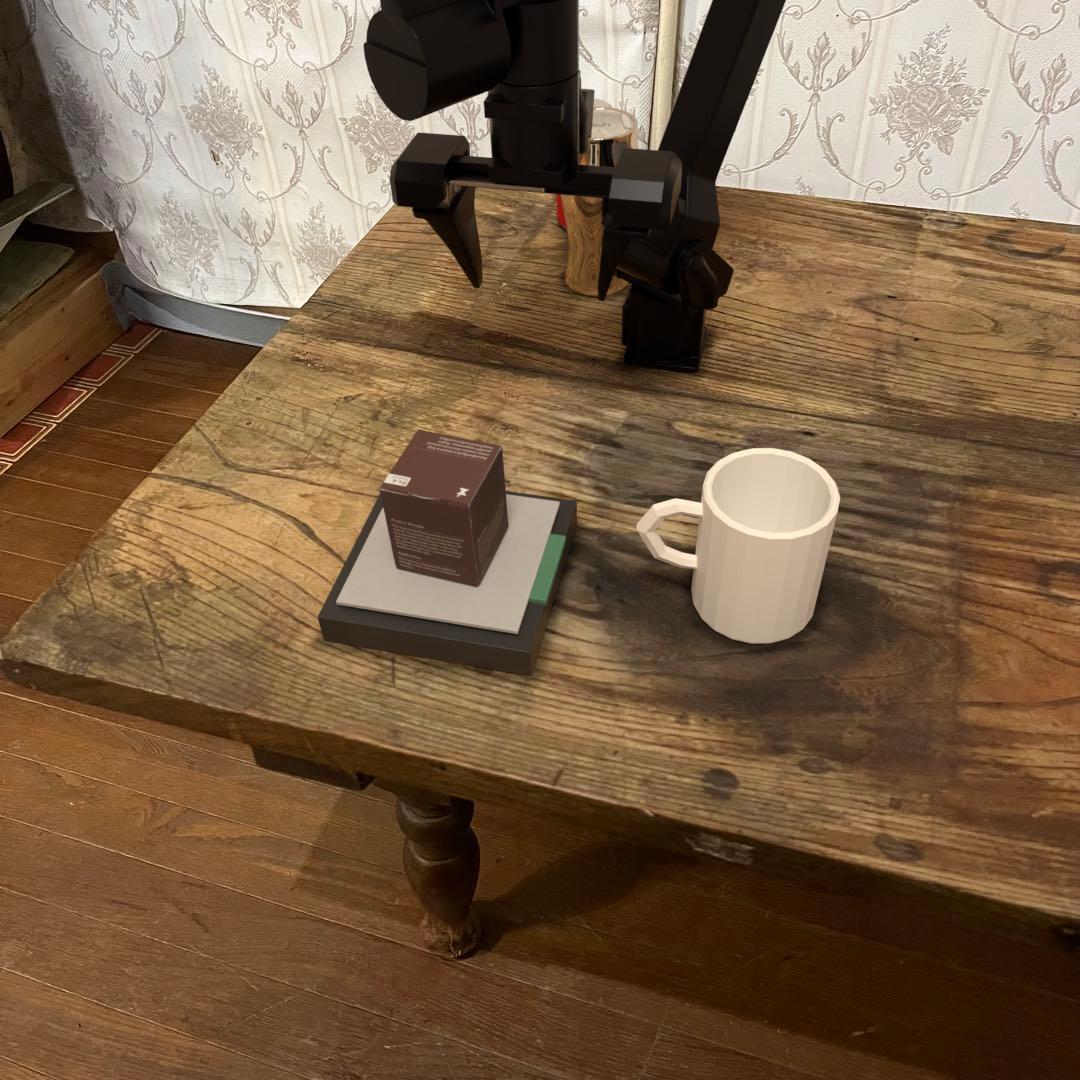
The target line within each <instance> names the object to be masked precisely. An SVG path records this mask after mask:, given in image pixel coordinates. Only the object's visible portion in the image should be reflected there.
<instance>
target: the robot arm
mask: <svg viewBox="0 0 1080 1080" xmlns="http://www.w3.org/2000/svg"><path fill="white" fill-rule="evenodd" d="M786 2H787V0H711V3H710V5H709V8H708V11H707V14H706V16H705V19H704V22H703V25H702V28H701V31H700V33H699V36H698V39H697V41H696V44H695V47H694V49H693V51H692V55H691V57H690V60H689V63H688V66H687V69H686V71H685V73H684V77H683V79H682V82H681V85H680V88H679V90H678V93H677V96H676V99H675V102H674V104H673V107H672V109H671V112H670V114H669V115H670V116H669V118H668V121H667V122H666V123H667V124H666V126H665V129H664V132H663V135H662V137H661V140H660V143H659V146H658V148H657V149H645V148H644V149H643V148H638V149H632V148H624V149H623V151H622V154H621V156H620V159H619V161H618V163H617V166H616V167H603V166H590V165H579V154H585V153H586V151H587V149H588V147H589V138H591V136H592V122H593V107H594V99H595V92H596V91H595V89H592V88H591V89H590V88H582V77H581V70H580V0H379V3H380V4H379V5H380V9H379V10H378V11H376V12H375V13H374V14H373V15H372V17H370V20H369V21H368V25H367V28H366V29H367V30H366V37H365V38H366V39H365V42H364V43H363V45H362V46H363V55H364V61H365V65H366V69H367V72H368V75H369V78H370V81H371V83H372V85H373V88H374V89H375V91H376V93H377V96H378V97H379V99H380V100H381V101H382V103H383V104H384V105H385V107H386V108H387V109H388V110H389V111H390V112H391V113H392V114H393V115H395V117H397V118H398V119H399V120H400V119H401V120H403V121H406V122H407V121H408V122H413V121H416V120H418V119H422V118H423V117H426V116H428V115H431V114H434V113H437V112H439V111H441V110H444V109H446V108H449V107H452V106H454V105H457V104H459V103H462V102H464V101H466V100H467V101H468V100H470V99H472V98H474V97H477V96H480V95H482V94H486V93H487V96H486V97H485V98H484V100H483V111H484V113H483V114H484V119H488V121H489V136H490V151H491V154H490V155H491V157H489V156H488V157H487V156H478V155H477V156H474V155H471V149H470V148H471V147H470V142H469V140H468V139H467V137H466V135H458V134H445V133H431V132H417V133H416V134H415V135H414V136H413V137H412V138H411V140H410V141H409V142H407V145H406V146H405V147H404V149H402V151H401V152H400V154H399V155H398V157H397V158H396V159H395V161H394V162H393V164H392V165H391V167H390V174H389V185H390V193H391V199H392V203H394V204H395V205H396V206H397V207H403V208H404V207H405V208H411V212H412V216H413V218H415V219H420V220H424V221H426V222H427V224H428V225H429V226H430V228H431V229H432V230H433V232H434V233H435V234H436V235H437V236H438V237H439V239H440V240H441V241H442V242H443V243H444V244H445V246H446V247H447V249H448V250H449V251H450V254H452V256H453V257H454V259H455V261H456V262H457V264H458V265H459V267H460V268H461V270H462V272H463V273H464V275H465V276H466V278H467V279H468V281H469V283H470V284H471V286H472V287H473V288H474V289H480V288H481V286H482V284H483V281H484V275H483V274H484V273H483V270H484V268H483V256H482V249H481V242H480V237H479V229H478V224H477V217H476V208H475V203H476V202H475V200H476V188H477V189H478V188H479V189H491V190H504V191H513V192H514V191H515V192H525V193H527V192H528V193H536V194H537V193H538V194H549V195H550V194H551V195H557V194H560V195H572V196H584V197H596V198H608V199H609V209H608V212H607V214H606V215H605V217H604V218H603V220H602V222H601V224H602V225H604V226H605V227H604V231H603V235H602V241H601V248H602V250H601V259H600V268H599V277H598V296H597V297H598V301H599V302H605V300H606V298H607V296H608V295H607V292H608V289H609V287H610V284H611V281H612V278H613V276H615V277H617V278H619V279H623V280H625V281H627V282H628V284H630V288H629V289H627V290H626V293H625V296H624V299H623V302H622V306H621V332H620V333H621V335H620V344H621V346H623V347H625V349H624V353H623V356H622V362H623V364H624V365H628V366H636V367H645V368H654V369H663V370H671V371H681V372H689V373H696V372H699V371H700V368H701V363H702V358H703V353H704V349H705V344H706V341H707V335H708V327H707V326H706V322H707V314H708V313H707V312H708V310H715V308H717V307H718V306H719V299H720V298H722V297H724V296H725V295H726V294H727V293H728V291H729V287H730V285H731V281H732V279H733V275H734V271H735V269H734V267H733V266H731V265H730V264H729V263H728V262H727V261H726V260H725V259H724V258H722V256H721V255H719V254H718V253H717V252H716V251H715V250H714V247H715V243H716V240H717V237H718V234H719V233H718V232H719V231H720V230H719V229H720V226H721V216H720V208H719V200H718V192H717V185H716V181H717V180H718V179H717V178H718V176H719V173H720V170H721V168H722V166H723V163H724V160H725V158H726V155H727V153H728V150H729V147H730V144H731V142H732V140H733V137H734V135H735V132H736V130H737V127H738V124H739V122H740V119H741V117H742V114H743V112H744V109H745V107H746V104H747V102H748V98H749V96H750V95H751V91H752V88H753V86H754V83H755V81H756V78H757V75H758V73H759V70H760V68H761V65H762V63H763V61H764V58H765V55H766V53H767V50H768V48H769V45H770V43H771V40H772V37H773V35H774V32H775V30H776V27H777V25H778V22H779V20H780V17H781V15H782V12H783V9H784V7H785V4H786Z"/></svg>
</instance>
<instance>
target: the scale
mask: <svg viewBox="0 0 1080 1080" xmlns="http://www.w3.org/2000/svg"><path fill="white" fill-rule="evenodd" d="M506 502H507V514H508V525H509V526H508V528H507V530H506V532H505V534H504V536H503V538H502V540H501V542H500V544H499V546H498V548H497V550H496V552H495V554H494V556H493V558H492V560H491V562H490V564H489V566H488V568H487V570H486V572H485V574H484V576H483V578H482V580H481V582H480V584H479V585H478V586H474V585H470V584H466V583H461V582H457V581H452V580H448V579H444V578H439V577H435V576H431V575H426V574H421V573H417V572H412V571H408V570H404V569H399V568H396V565H395V560H394V556H393V552H392V547H391V541H390V538H389V532H388V527H387V523H386V518H385V513H384V508H383V504H382V498H381V495H380V494H379V495H378V497H377V498H376V500H375V502H374V504H373V507H372V508H371V510H370V512H369V514H368V516H367V517H366V518H367V519H366V521H365V522H364V524H363V526H362V528H361V530H360V532H359V533H358V536H357V538H356V540H355V542H354V544H353V545H352V548H351V550H350V552H349V554H348V556H347V558H346V559H345V562H344V563H343V566H342V568H341V569H340V572H339V573H338V576H337V577H336V579H335V582H334V583H333V585H332V587H331V589H330V591H329V593H328V594H327V597H326V599H325V601H324V603H323V605H322V606H321V609H320V611H319V613H318V615H317V620H318V624H319V628H320V631H321V634H322V635H321V636H322V638H323V641H325V642H331V643H337V644H342V645H348V646H354V647H359V648H365V649H372V650H377V651H383V652H388V653H395V654H400V655H407V656H412V657H418V658H424V659H429V660H435V661H442V662H446V663H453V664H459V665H464V666H469V667H477V668H482V669H488V670H494V671H499V672H505V673H510V674H515V675H521V676H522V675H523V676H527V677H528V676H529V677H531V676H532V675H533V672H534V668H535V665H536V663H537V659H538V655H539V652H540V649H541V646H542V643H543V638H544V636H545V632H546V629H547V625H548V623H549V619H550V616H551V612H552V609H553V606H554V603H555V599H556V596H557V593H558V589H559V585H560V583H561V579H562V576H563V572H564V569H565V566H566V562H567V559H568V556H569V553H570V549H571V545H572V543H573V539H574V537H575V532H576V530H577V526H578V500H575V499H568V498H560V497H553V496H547V495H540V494H539V495H538V494H532V493H525V492H518V491H517V492H516V491H512V490H511V491H510V490H506Z"/></svg>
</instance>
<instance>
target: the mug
mask: <svg viewBox="0 0 1080 1080" xmlns="http://www.w3.org/2000/svg"><path fill="white" fill-rule="evenodd" d="M840 501H841V495H840V491H839V487H838V485H837V483H836V481H835V480H834V478H832V476H831V475H830V474H829V472H828V471H827V470H826V469H825V468H823V467H822V466H820V464H817V462H815V461H814V460H812V459H810V458H808V457H806V456H804V455H801V454H799V453H797V452H794V451H791V450H786V449H780V448H776V447H775V448H774V447H753V448H752V447H751V448H748V449H743V450H740V451H735V452H732V453H730V454H728V455H726V456H725V457H723V458H720V459H719V460H717V461H716V462H715V463H713V465H712V466H711V468H710V469H708V471H706V475H705V478H704V481H703V484H702V489H701V499H700V501H694V500H687V499H682V498H676V497H675V498H671V499H668V500H665V501H661V502H657V503H653V504H652V505H651V506H650V508H649V509H648V510H647V511H646V513H644V515H643V516H642V517H641V519H639V521H638V522H637V523H636V524H635V526H636V531H637V533H638V535H639V536H640V537H641V540H642V541H643V542H644V544H645V546H646V547H647V549H648V551H649V552H650V554H651V555H652V557H653V558H654V559H656V560H659V561H661V562H664V563H667V564H669V565H671V566H674V567H677V568H678V569H679V568H680V569H688V570H692V571H693V572H692V579H691V588H690V589H691V596H692V597H691V598H692V604H693V606H694V608H695V610H696V611H697V613H698V615H699V617H700V619H701V620H702V621H703V622H704V623H706V624H707V625H708V626H709V627H710V628H711V629H712V630H713V631H715V632H717V633H718V634H720V635H722V636H724V637H727V638H728V639H730V640H734V641H737V642H738V641H739V642H740V643H741V642H742V643H746V644H752V645H753V644H754V645H755V644H756V645H759V644H761V645H762V644H766V645H767V644H774V643H777V642H781V641H785V640H788V639H790V638H792V637H794V636H795V635H796V634H798V633H799V632H801V631H803V630H804V629H805V627H806V626H807V625H808V624H809V622H810V621H811V620H812V618H813V616H814V612H815V608H816V604H817V600H818V596H819V591H820V587H821V583H822V579H823V575H824V570H825V565H826V562H827V558H828V553H829V549H830V546H831V542H832V541H831V540H832V537H833V532H834V529H835V525H836V520H837V516H838V512H839V507H840ZM681 516H687V517H692V518H693V517H694V518H698V525H697V526H698V527H697V535H696V544H695V553H694V554H692V553H687V552H682V551H680V550H677V549H675V548H672V547H670V546H668V545H666V544H665V543H664V540H662V538H661V536H660V535H659V533H658V532H657V530H656V529H658V527H660V525H661V524H662V523H663V522H664V520H668V519H671V518H672V519H673V518H676V517H681Z"/></svg>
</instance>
